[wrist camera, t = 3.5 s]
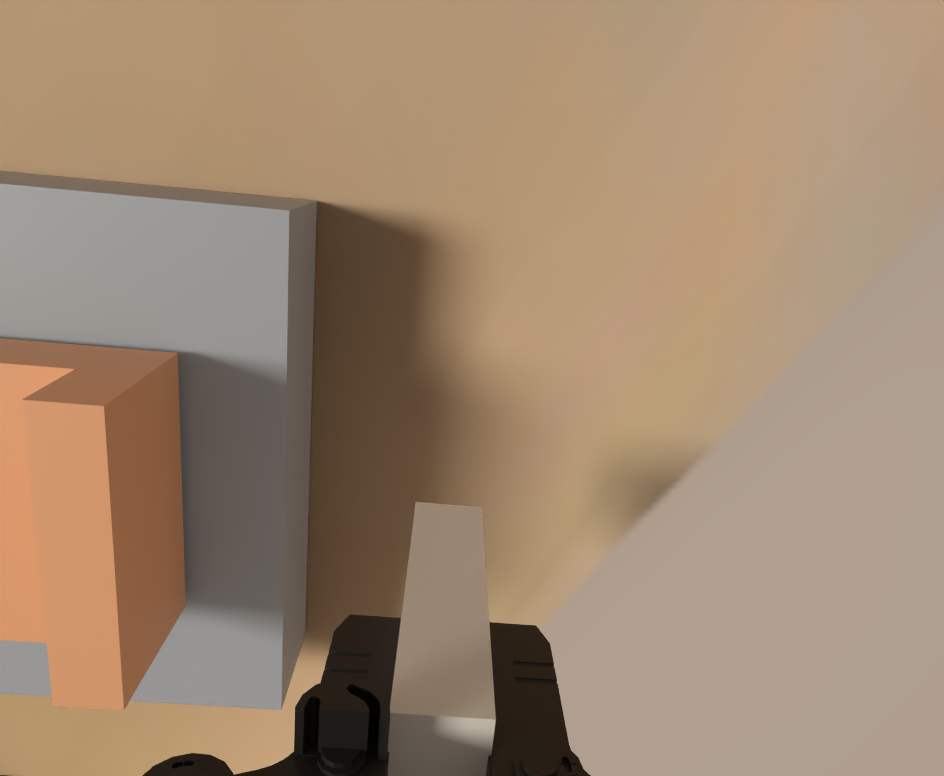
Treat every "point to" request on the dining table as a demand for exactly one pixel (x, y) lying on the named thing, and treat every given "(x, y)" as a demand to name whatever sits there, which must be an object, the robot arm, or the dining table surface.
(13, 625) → the block
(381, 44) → the dining table surface
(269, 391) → the socket plate
